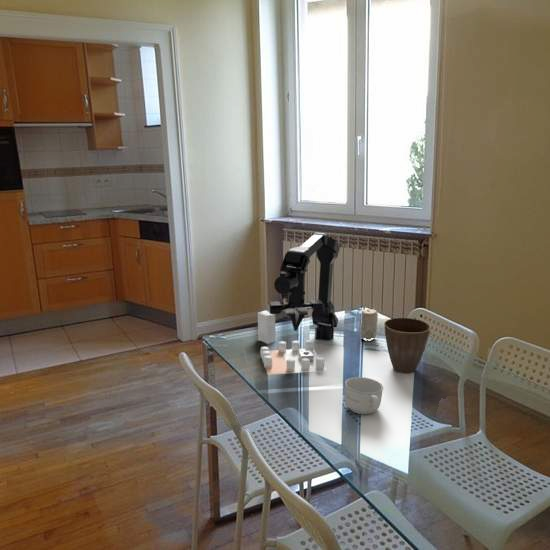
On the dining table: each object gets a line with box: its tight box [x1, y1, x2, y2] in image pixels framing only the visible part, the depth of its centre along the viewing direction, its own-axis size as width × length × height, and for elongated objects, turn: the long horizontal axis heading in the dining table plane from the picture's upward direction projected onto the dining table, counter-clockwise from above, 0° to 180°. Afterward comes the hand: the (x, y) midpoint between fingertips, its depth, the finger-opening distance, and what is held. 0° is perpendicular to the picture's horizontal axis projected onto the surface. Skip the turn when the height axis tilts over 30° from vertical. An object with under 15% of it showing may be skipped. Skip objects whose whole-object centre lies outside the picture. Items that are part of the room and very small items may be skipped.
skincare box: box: [257, 309, 277, 345], centre depth 196 cm, size 6×4×12 cm
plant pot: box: [383, 317, 431, 374], centre depth 174 cm, size 15×15×16 cm
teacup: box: [344, 376, 384, 415], centre depth 146 cm, size 14×11×8 cm
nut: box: [298, 351, 314, 362], centre depth 180 cm, size 4×4×2 cm
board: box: [259, 339, 328, 376], centre depth 179 cm, size 20×20×4 cm
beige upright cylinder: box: [359, 308, 379, 339], centre depth 201 cm, size 6×8×12 cm
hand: (295, 330), depth 177 cm, fingers closed
